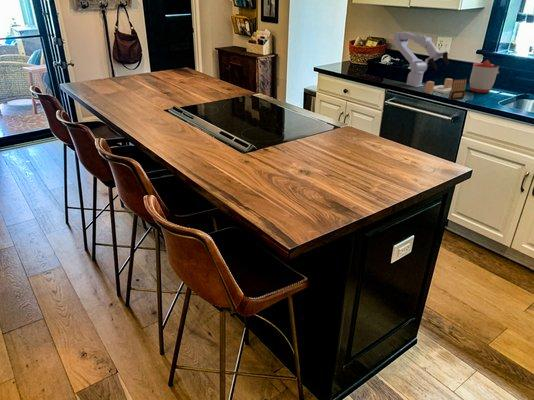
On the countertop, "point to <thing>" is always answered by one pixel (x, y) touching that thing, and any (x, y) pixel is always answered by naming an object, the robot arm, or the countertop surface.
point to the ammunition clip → (457, 90)
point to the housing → (444, 87)
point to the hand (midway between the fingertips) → (442, 66)
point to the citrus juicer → (483, 77)
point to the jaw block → (429, 87)
